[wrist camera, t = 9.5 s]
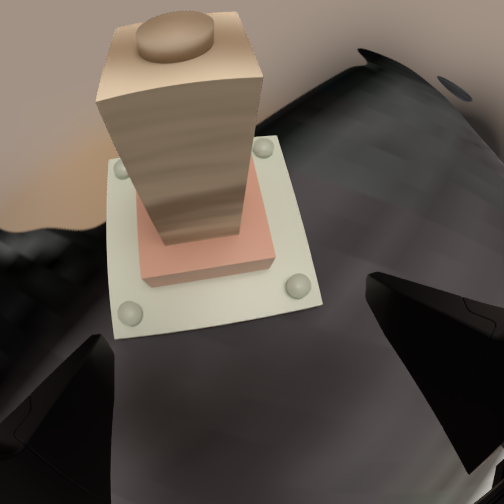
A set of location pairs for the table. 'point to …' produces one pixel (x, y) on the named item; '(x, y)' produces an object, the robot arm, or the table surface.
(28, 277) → the table surface
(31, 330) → the table surface
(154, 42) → the tower piece
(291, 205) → the foundation
